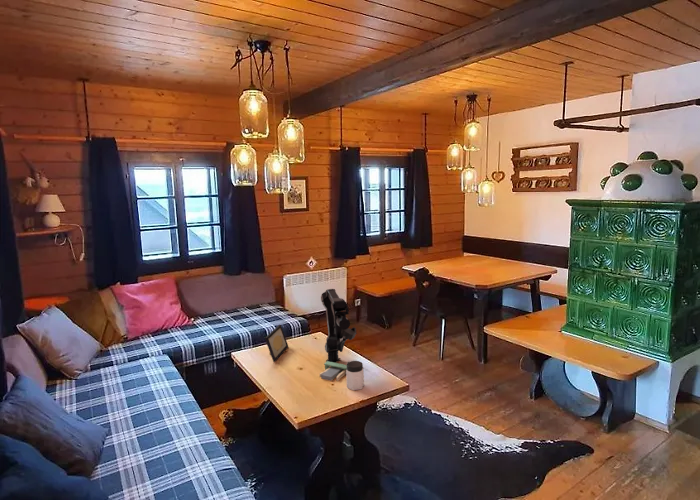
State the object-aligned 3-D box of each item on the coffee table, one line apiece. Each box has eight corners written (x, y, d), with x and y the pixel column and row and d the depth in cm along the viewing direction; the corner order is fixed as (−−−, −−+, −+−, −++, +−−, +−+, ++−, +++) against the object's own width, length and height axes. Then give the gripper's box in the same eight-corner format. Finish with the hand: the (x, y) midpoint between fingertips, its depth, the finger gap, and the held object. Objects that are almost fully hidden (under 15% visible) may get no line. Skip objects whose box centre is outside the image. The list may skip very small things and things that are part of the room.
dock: (328, 367, 244) (327, 360, 244) (353, 372, 236) (352, 365, 236) (315, 376, 234) (315, 369, 233) (341, 381, 226) (341, 375, 225)
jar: (348, 391, 215) (347, 368, 213) (345, 384, 223) (344, 362, 221) (366, 388, 217) (365, 366, 215) (362, 381, 225) (361, 359, 223)
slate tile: (333, 370, 241) (332, 366, 241) (342, 372, 238) (342, 367, 238) (321, 379, 231) (321, 374, 230) (331, 381, 228) (331, 377, 227)
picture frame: (275, 361, 254) (270, 337, 252) (261, 362, 256) (256, 338, 254) (288, 346, 277) (284, 324, 274) (275, 347, 278) (271, 325, 276)
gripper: (344, 331, 218) (345, 360, 220) (361, 320, 234) (362, 347, 236) (325, 328, 223) (326, 357, 225) (343, 317, 239) (344, 344, 242)
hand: (341, 351), depth 232 cm, fingers closed
